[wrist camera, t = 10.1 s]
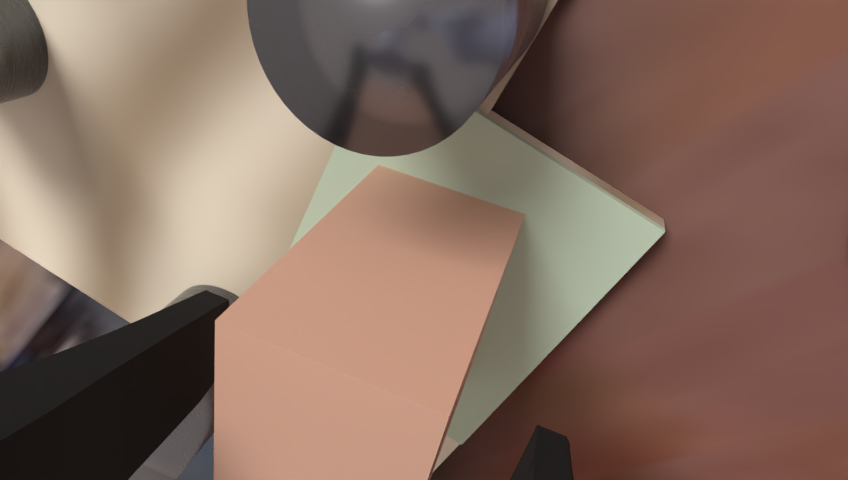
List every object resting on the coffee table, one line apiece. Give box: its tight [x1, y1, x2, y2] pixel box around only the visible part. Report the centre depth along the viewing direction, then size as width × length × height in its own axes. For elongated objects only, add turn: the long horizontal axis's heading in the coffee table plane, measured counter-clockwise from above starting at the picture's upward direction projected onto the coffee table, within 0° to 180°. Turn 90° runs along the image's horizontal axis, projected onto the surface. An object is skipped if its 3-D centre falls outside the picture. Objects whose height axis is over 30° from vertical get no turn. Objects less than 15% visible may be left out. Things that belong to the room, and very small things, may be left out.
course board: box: [0, 0, 665, 480], centre depth 15 cm, size 21×19×6 cm
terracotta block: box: [214, 165, 525, 480], centre depth 13 cm, size 4×6×7 cm, turn 168°
